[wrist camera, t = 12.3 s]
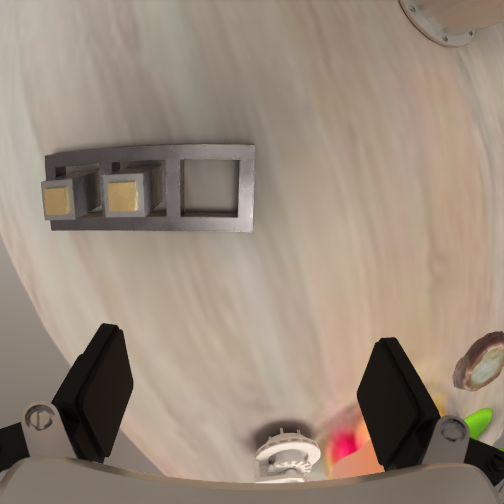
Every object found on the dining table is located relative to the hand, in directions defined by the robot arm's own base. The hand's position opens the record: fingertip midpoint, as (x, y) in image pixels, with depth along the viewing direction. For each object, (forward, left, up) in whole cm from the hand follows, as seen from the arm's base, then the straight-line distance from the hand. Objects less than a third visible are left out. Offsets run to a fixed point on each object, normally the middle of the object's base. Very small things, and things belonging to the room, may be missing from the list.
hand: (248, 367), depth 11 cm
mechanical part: (+41, +8, -26) cm, 49 cm away
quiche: (+27, +47, -27) cm, 61 cm away
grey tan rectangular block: (-2, -19, -26) cm, 32 cm away
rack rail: (-2, -11, -26) cm, 28 cm away
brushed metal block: (-3, -11, -26) cm, 28 cm away
